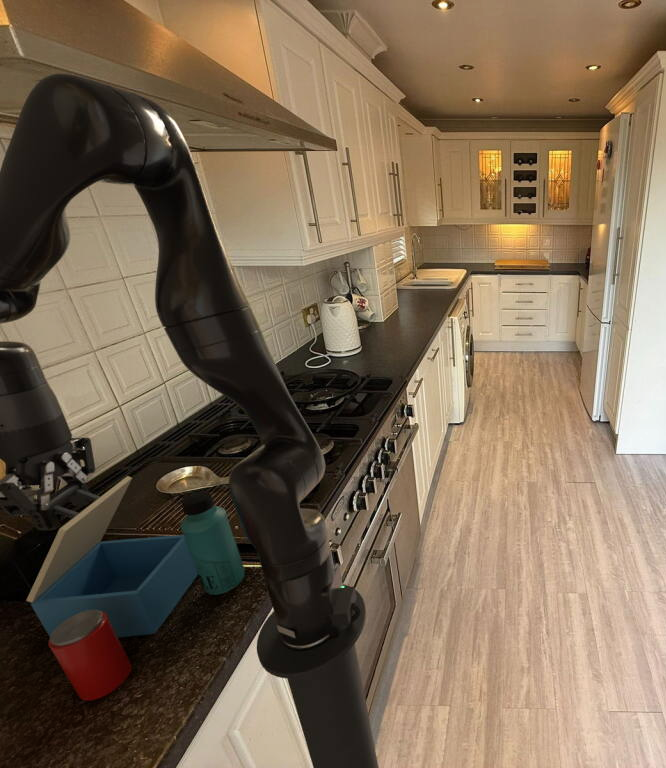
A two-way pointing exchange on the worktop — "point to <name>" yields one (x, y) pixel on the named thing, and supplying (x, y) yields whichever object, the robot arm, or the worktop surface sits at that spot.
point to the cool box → (122, 584)
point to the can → (90, 654)
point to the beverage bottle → (211, 544)
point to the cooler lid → (77, 531)
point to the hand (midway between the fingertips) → (67, 515)
